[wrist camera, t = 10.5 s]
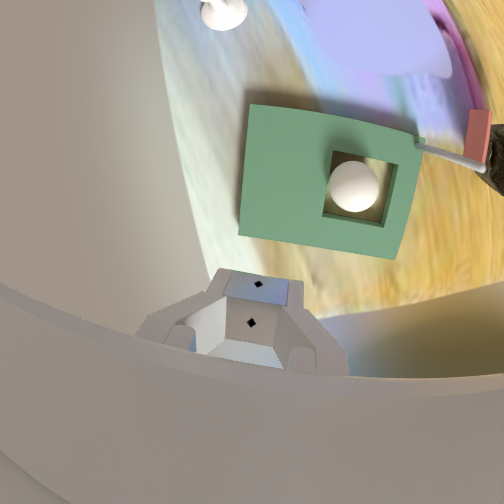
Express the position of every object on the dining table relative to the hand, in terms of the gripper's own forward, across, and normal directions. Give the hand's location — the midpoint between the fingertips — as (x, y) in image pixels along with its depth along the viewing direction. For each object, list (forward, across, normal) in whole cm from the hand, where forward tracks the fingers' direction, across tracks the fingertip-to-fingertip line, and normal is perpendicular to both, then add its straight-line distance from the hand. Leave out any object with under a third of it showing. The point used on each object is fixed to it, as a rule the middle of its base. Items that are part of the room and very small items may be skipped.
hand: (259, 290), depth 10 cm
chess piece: (+21, +8, -18) cm, 29 cm away
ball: (+19, -7, 0) cm, 20 cm away
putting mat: (+21, -5, -2) cm, 22 cm away
